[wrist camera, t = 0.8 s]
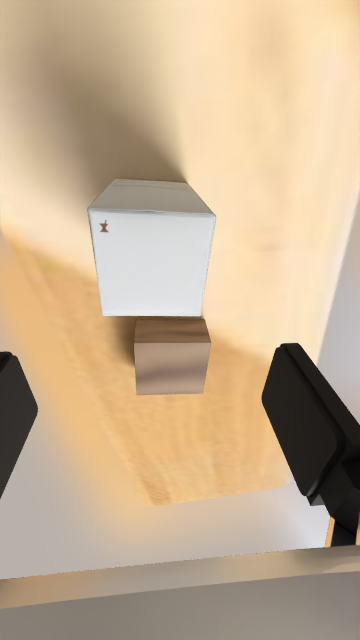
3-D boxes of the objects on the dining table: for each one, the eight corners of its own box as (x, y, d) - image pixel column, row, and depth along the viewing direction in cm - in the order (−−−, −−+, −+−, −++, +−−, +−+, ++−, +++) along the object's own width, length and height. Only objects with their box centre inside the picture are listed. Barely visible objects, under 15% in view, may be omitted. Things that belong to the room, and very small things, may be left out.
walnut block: (136, 318, 34) (133, 343, 30) (204, 318, 35) (211, 342, 31) (138, 368, 39) (136, 395, 35) (197, 367, 40) (202, 393, 36)
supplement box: (117, 253, 28) (97, 318, 18) (113, 176, 24) (83, 203, 14) (184, 256, 29) (202, 320, 19) (191, 182, 25) (218, 212, 15)
